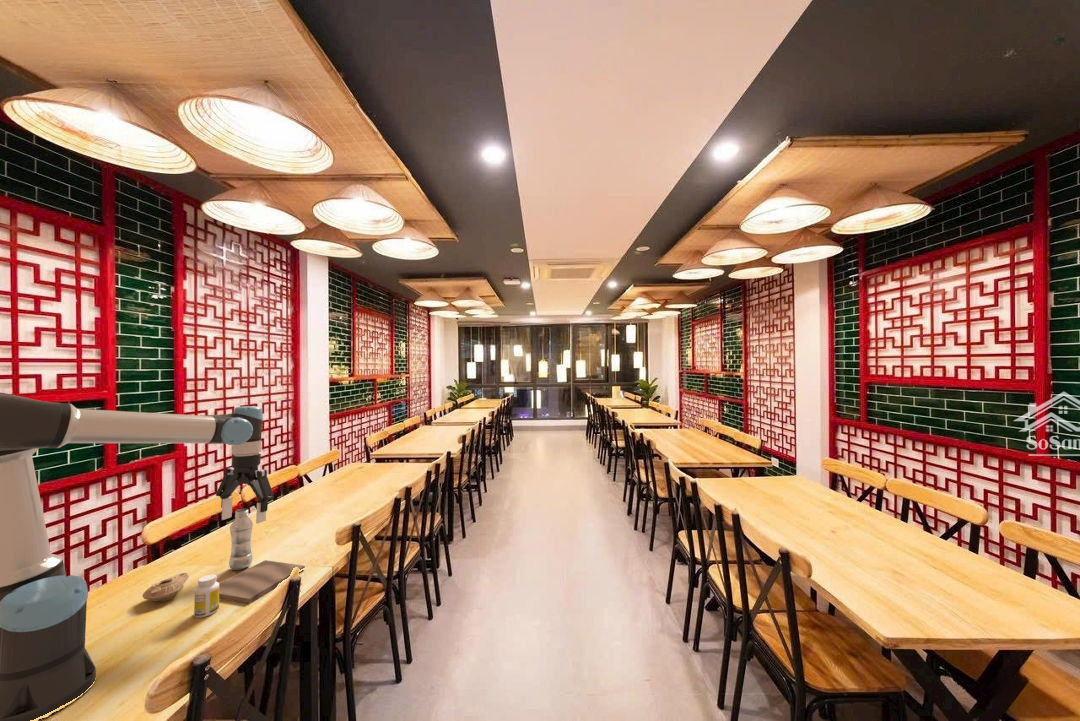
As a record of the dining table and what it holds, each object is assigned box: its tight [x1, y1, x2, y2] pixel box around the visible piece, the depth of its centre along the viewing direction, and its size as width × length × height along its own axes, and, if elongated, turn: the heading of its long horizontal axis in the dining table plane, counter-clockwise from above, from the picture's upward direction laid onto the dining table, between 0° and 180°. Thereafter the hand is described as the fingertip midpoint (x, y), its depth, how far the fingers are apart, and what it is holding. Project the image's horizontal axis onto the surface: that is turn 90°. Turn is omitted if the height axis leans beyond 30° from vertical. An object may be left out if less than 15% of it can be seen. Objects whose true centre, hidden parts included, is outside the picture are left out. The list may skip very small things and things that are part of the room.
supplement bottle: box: [193, 573, 220, 619], centre depth 110 cm, size 5×5×10 cm
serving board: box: [219, 559, 306, 605], centre depth 126 cm, size 20×17×2 cm
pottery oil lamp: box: [142, 572, 190, 602], centre depth 119 cm, size 9×12×7 cm
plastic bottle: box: [228, 508, 254, 571], centre depth 135 cm, size 6×7×20 cm
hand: (243, 520), depth 124 cm, fingers open, 13 cm apart
